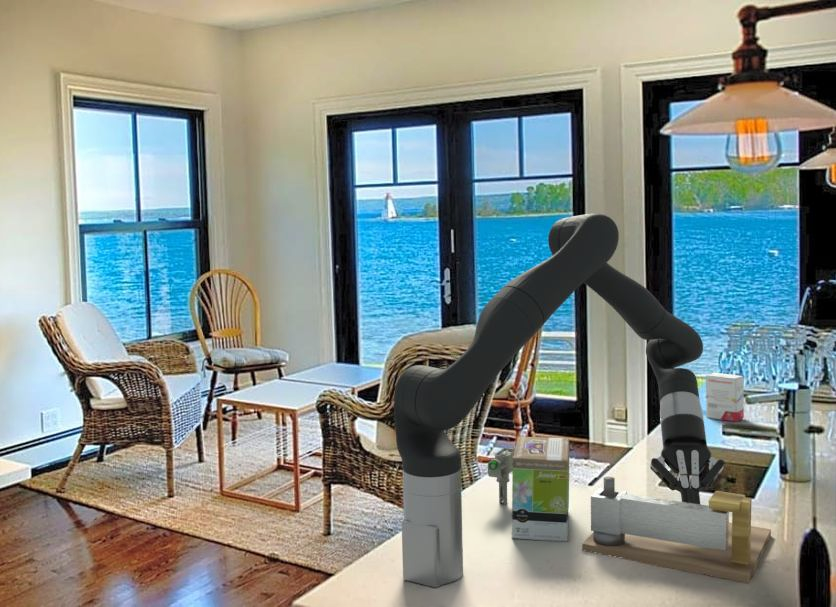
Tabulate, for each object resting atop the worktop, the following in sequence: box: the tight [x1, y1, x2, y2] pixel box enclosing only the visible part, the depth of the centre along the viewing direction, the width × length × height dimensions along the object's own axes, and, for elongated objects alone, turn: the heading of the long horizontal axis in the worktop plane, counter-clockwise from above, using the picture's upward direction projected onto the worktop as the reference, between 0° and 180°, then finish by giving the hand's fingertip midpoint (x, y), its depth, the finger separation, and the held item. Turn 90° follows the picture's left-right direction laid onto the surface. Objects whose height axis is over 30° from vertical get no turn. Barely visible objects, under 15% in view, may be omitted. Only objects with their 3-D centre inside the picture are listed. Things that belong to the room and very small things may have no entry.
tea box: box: [511, 436, 570, 542], centre depth 152 cm, size 15×10×15 cm
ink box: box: [705, 372, 745, 423], centre depth 225 cm, size 9×5×12 cm, turn 44°
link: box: [590, 487, 730, 551], centre depth 138 cm, size 21×5×6 cm, turn 61°
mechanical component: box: [487, 447, 515, 505], centre depth 164 cm, size 3×10×10 cm, turn 152°
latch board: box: [581, 476, 772, 584], centre depth 143 cm, size 21×26×12 cm
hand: (692, 511), depth 142 cm, fingers closed
